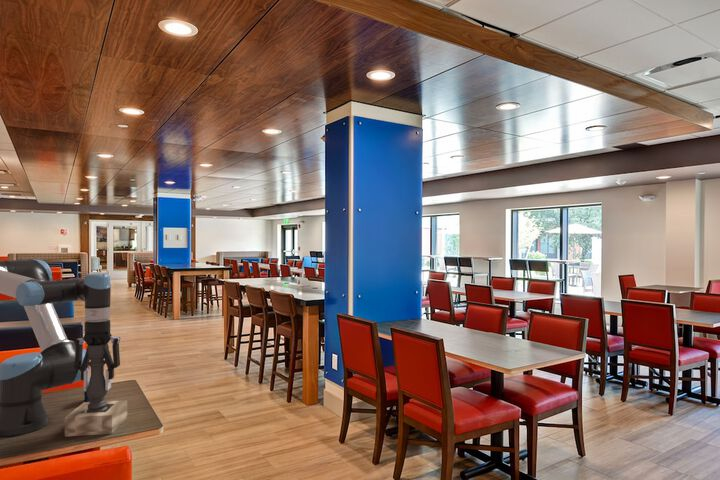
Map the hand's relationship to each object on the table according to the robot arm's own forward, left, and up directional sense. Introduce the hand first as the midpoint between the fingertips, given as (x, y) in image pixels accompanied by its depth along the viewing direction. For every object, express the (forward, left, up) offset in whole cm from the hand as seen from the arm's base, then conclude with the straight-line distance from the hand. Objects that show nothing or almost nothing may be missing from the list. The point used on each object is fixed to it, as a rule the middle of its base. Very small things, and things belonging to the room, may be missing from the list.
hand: (97, 389), depth 155 cm
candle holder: (0, 0, -10) cm, 10 cm away
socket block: (0, 0, -12) cm, 12 cm away
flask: (-12, +27, -13) cm, 32 cm away
